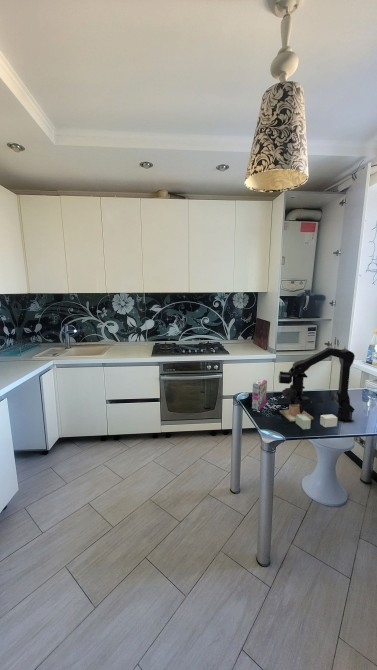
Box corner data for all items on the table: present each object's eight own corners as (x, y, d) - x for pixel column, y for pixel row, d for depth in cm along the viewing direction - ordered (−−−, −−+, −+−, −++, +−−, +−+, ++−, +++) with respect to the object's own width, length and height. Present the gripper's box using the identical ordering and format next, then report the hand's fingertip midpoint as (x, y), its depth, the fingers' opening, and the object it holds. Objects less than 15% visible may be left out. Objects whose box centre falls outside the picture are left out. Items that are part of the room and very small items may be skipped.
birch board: (301, 410, 157) (301, 408, 157) (313, 419, 145) (313, 417, 145) (279, 411, 155) (279, 410, 155) (290, 421, 143) (290, 419, 143)
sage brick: (295, 423, 142) (296, 414, 141) (302, 422, 142) (302, 413, 142) (303, 429, 135) (303, 420, 134) (310, 428, 135) (310, 419, 135)
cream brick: (331, 422, 142) (332, 414, 141) (336, 426, 138) (337, 417, 137) (320, 423, 141) (320, 415, 140) (324, 427, 137) (325, 418, 136)
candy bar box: (259, 411, 157) (260, 385, 154) (251, 408, 160) (252, 383, 157) (266, 404, 165) (267, 380, 163) (259, 402, 168) (260, 378, 166)
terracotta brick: (299, 412, 152) (300, 403, 152) (303, 415, 149) (304, 406, 148) (288, 412, 151) (289, 404, 151) (292, 416, 148) (292, 407, 147)
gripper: (276, 379, 155) (275, 404, 158) (293, 390, 137) (292, 418, 139) (293, 378, 157) (292, 403, 159) (312, 389, 139) (311, 416, 141)
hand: (296, 409), depth 150 cm, fingers open, 9 cm apart
